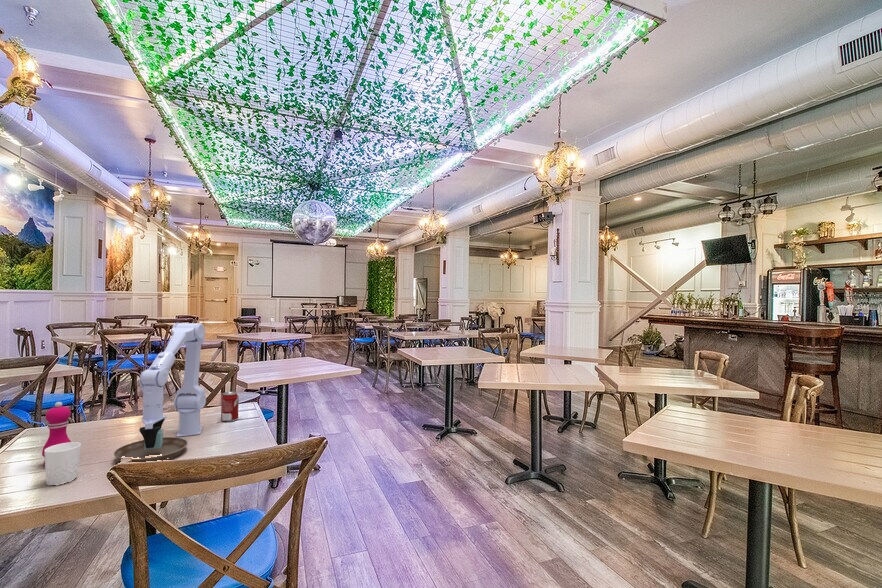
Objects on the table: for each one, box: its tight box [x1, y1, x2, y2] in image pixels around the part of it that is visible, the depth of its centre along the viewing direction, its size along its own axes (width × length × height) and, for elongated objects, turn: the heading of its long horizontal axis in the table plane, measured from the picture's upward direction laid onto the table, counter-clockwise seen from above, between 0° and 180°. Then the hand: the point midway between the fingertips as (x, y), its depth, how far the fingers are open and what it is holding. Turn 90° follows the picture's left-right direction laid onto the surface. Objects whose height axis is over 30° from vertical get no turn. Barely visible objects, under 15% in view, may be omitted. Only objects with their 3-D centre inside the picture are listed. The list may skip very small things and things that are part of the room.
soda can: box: [220, 391, 240, 423], centre depth 180 cm, size 7×7×12 cm
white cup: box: [44, 441, 82, 486], centre depth 120 cm, size 8×8×10 cm
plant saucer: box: [113, 436, 188, 462], centre depth 140 cm, size 21×21×3 cm
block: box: [144, 428, 164, 450], centre depth 140 cm, size 4×4×5 cm
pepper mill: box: [41, 401, 72, 468], centre depth 132 cm, size 7×7×20 cm
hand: (152, 443), depth 140 cm, fingers open, 7 cm apart
